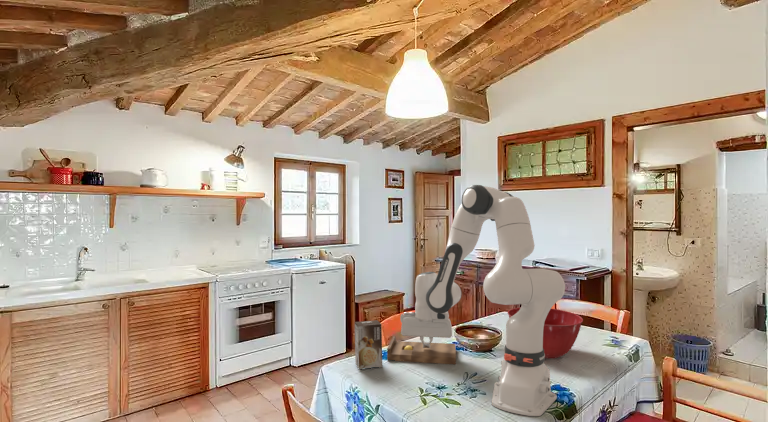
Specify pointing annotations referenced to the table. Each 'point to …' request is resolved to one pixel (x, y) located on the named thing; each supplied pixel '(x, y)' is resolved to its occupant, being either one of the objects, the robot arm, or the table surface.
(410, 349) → the ball
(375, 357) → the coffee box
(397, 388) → the table surface
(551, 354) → the mixing bowl
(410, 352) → the tray
